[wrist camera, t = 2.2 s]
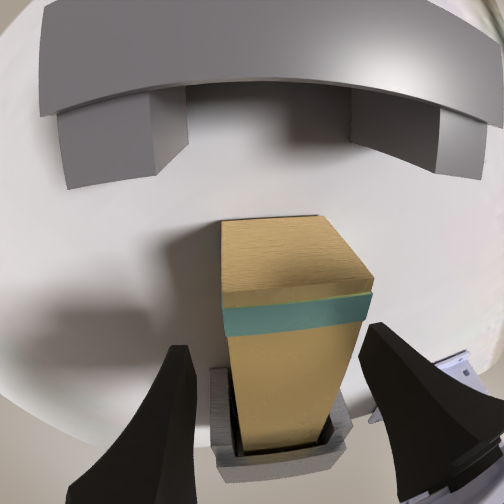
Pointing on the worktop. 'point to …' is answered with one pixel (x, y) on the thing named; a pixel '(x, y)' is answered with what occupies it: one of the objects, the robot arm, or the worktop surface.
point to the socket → (264, 75)
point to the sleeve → (271, 465)
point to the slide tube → (289, 325)
